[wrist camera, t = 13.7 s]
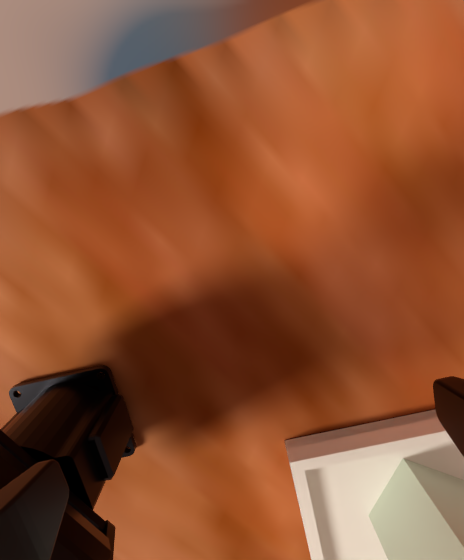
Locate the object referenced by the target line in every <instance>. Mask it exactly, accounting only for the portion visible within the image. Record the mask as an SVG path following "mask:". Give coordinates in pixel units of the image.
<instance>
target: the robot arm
mask: <svg viewBox="0 0 464 560" xmlns="http://www.w3.org/2000/svg"><path fill="white" fill-rule="evenodd" d="M99 372H103V373H104V374H105V376H101V375H100V374H99ZM433 390H434V400H435V410H436V414H437V417H438V419H439V421H440V423H441V425H442V426H443V428H444V429H445V430H446V432H447V433H448V435H449V436H450V438H451V439H452V441H453V442H454V444H455V445H456V447H457V448H458V450H459V451H460V453H461V454H462V456H463V457H464V379H461V378H458V377H454V376H450V377H445V378H441V379H436V380H435V381H434V383H433ZM17 391H20V393H21V394H19V393H18V392H17ZM9 395H10V398H11V400H12V403H13V405H14V407H15V410H16V412H17V413H16V414H15V415H14V416H13V417H12V419H11V420H10V421H9V422H8V423H7V424H6V425H5V426H4V427H3V428H2V429H0V560H113V551H114V538H115V526H114V525H113V524H111V523H110V522H109V521H108V520H106V521H104V520H103V519H102V518H101V517H100V516H99V515H97V514H96V513H95V512H94V511H93V509H94V506H95V504H96V502H97V499H98V497H99V495H100V493H101V490H102V488H103V486H104V483H105V481H106V480H111V479H112V477H113V476H114V474H115V472H116V470H117V467H118V465H119V462H120V460H121V458H122V457H127V456H130V455H132V454H133V453H134V451H135V448H136V443H135V440H134V437H133V434H132V431H133V426H132V423H131V420H130V417H129V414H128V411H127V408H126V405H125V402H124V399H123V397H122V396H121V395H120V394H119V393H118V390H117V387H116V384H115V382H114V379H113V376H112V373H111V370H110V369H109V368H108V367H107V366H104V365H103V366H97V367H92V368H88V369H83V370H78V371H74V372H69V373H65V374H60V375H56V376H51V377H47V378H42V379H38V380H33V381H29V382H24V383H20V384H17V385H15V386H14V387H13V388H11V390H10V391H9ZM126 446H128V447H130V449H128V448H126Z"/></svg>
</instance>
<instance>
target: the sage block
mask: <svg viewBox="0 0 464 560" xmlns="http://www.w3.org/2000/svg"><path fill="white" fill-rule="evenodd" d="M368 516H369V518H370V520H371V523H372V525H373V527H374V529H375V532H376V534H377V536H378V538H379V540H380V543H381V545H382V547H383V549H384V552H385V554H386V556H387V558H388V560H464V480H463V479H460V478H457V477H454V476H452V475H449V474H446V473H443V472H440V471H438V470H435V469H432V468H429V467H426V466H424V465H421V464H418V463H415V462H412V461H410V460H407V459H404V458H403V459H402V460H401V462H400V464H399V465H398V467H397V469H396V470H395V472H394V474H393V475H392V477H391V479H390V480H389V482H388V484H387V485H386V487H385V489H384V490H383V492H382V493H381V495H380V497H379V498H378V500H377V502H376V503H375V505H374V507H373V508H372V510H371V512H370V513H369V515H368Z"/></svg>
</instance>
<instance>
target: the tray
mask: <svg viewBox="0 0 464 560" xmlns="http://www.w3.org/2000/svg"><path fill="white" fill-rule="evenodd" d="M285 445H286V449H287V454H288V458H289V463H290V467H291V472H292V476H293V480H294V485H295V489H296V494H297V498H298V503H299V507H300V511H301V516H302V520H303V525H304V529H305V533H306V538H307V542H308V547H309V551H310V556H311V560H388V558H387V556H386V554H385V552H384V549H383V547H382V545H381V543H380V540H379V538H378V536H377V534H376V532H375V529H374V527H373V525H372V523H371V520H370V518H369V516H368V515H369V513H370V512H371V510H372V508H373V507H374V505H375V503H376V502H377V500H378V498H379V497H380V495H381V493H382V492H383V490H384V489H385V487H386V485H387V484H388V482H389V480H390V479H391V477H392V475H393V474H394V472H395V470H396V469H397V467H398V465H399V464H400V462H401V460H402V459H403V458H404V459H407V460H410V461H412V462H415V463H418V464H421V465H424V466H426V467H429V468H432V469H435V470H438V471H440V472H443V473H446V474H449V475H452V476H454V477H457V478H460V479H463V480H464V457H463V456H462V454H461V453H460V451H459V450H458V448H457V447H456V445H455V444H454V442H453V441H452V439H451V438H450V436H449V435H448V433H447V432H446V430H445V429H444V428H443V426H442V425H441V423H440V421H439V419H438V417H437V414H436V410H430V411H425V412H420V413H415V414H411V415H406V416H401V417H396V418H391V419H386V420H382V421H377V422H372V423H367V424H362V425H357V426H353V427H348V428H343V429H338V430H333V431H328V432H324V433H319V434H314V435H309V436H304V437H299V438H294V439H290V440H285Z"/></svg>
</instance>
